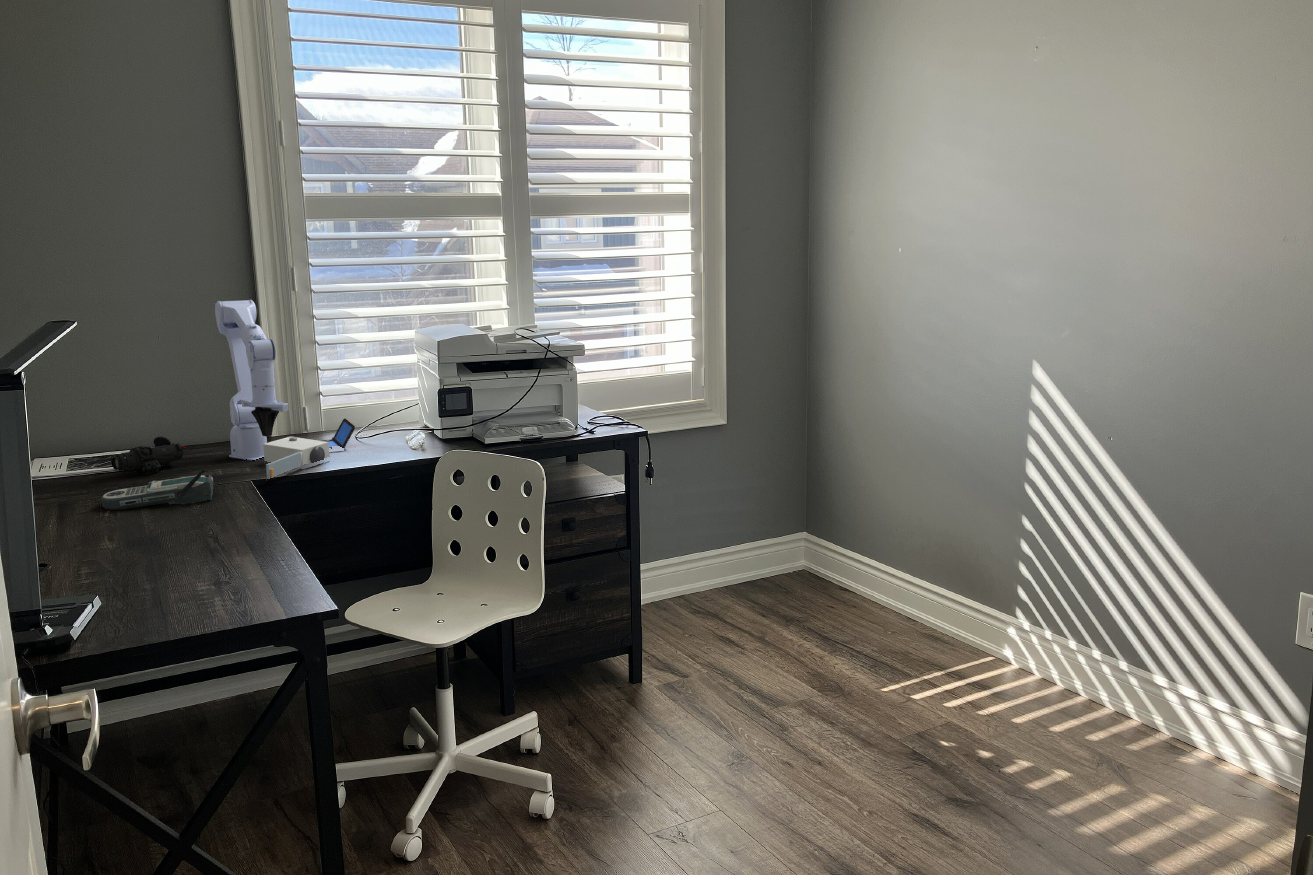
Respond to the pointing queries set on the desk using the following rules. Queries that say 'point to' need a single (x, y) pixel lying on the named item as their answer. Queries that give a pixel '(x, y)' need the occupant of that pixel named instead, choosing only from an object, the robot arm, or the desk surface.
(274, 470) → the side door
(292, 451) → the camera body
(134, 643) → the desk surface
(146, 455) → the night vision scope
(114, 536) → the desk surface
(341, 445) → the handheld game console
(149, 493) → the communication device
